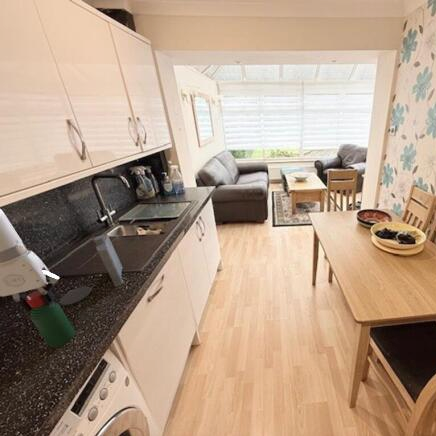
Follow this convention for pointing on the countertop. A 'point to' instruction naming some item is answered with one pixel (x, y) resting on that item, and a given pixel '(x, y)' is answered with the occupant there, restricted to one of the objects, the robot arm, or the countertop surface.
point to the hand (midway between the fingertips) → (41, 304)
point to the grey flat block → (109, 258)
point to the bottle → (52, 324)
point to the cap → (34, 299)
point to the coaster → (75, 296)
